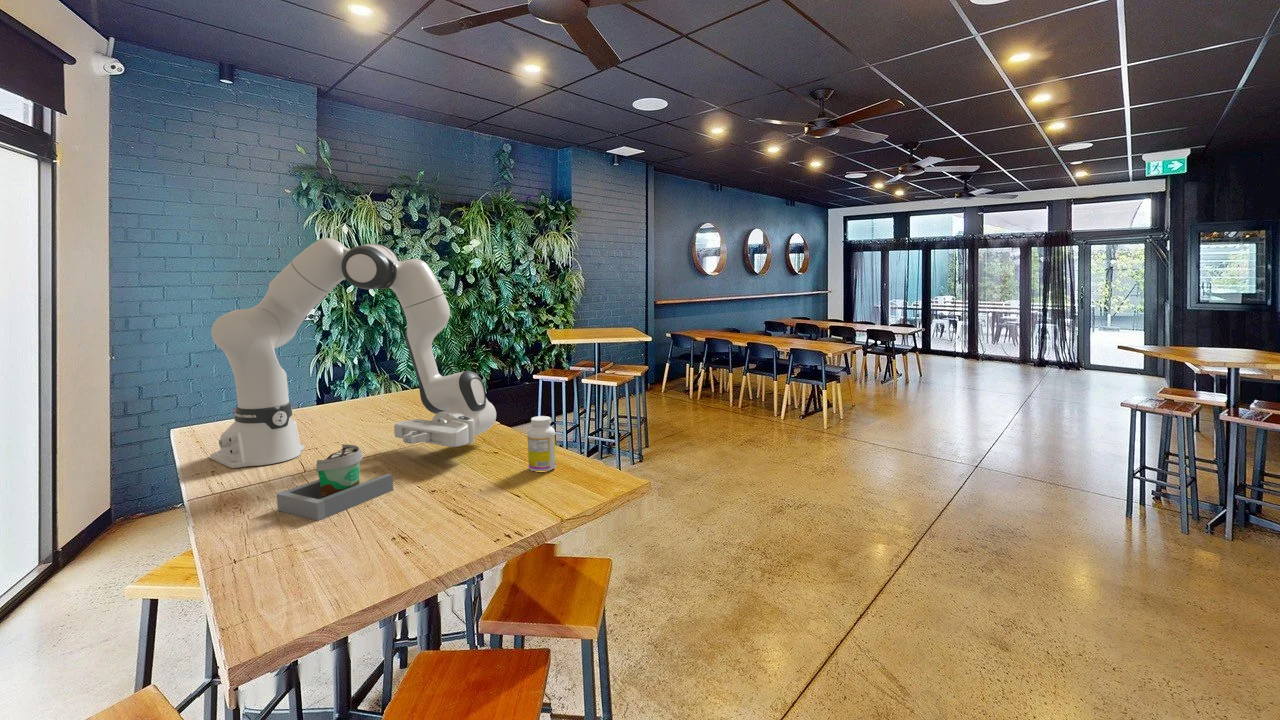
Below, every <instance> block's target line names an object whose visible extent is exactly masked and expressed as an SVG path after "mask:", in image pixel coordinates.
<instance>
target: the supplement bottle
mask: <svg viewBox="0 0 1280 720" xmlns="http://www.w3.org/2000/svg"><path fill="white" fill-rule="evenodd" d="M530 423H531V428H529V429H528V430H527V452H528V454H527V456H528V458H527V459H528V470H531V471H530V472H532V471H548V470H552V469H554V468H555V467H556V468H557V459H556V458H557V455H556V454H557V451H556V450H557V449H556V447H557V446H556V430H555V428H553V427H552V426H551V423H552V420H551V417H550V416H546V415H537V416H533V417H531V418H530ZM556 468H555V469H556ZM555 469H554V470H555ZM552 471H553V470H552Z"/></svg>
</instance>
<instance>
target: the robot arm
mask: <svg viewBox="0 0 1280 720" xmlns="http://www.w3.org/2000/svg"><path fill="white" fill-rule="evenodd" d="M344 280H346V281H347V282H348V283H349V284H350V285H352V286H354V287H355V288H359V289H363V290H383V289H391V291H392V292H394V294H395V295H396V297H397V299H398V301H399V303H400V306H401V308H402V310H403V313H404V316H405V319H406V331H405V341H406V345H407V349H408V352H409V355H410V359H411V362H412V366H413V369H414V372H415V375H416V379H417V383H418V388H419V395H420V401H421V403H422V405H423V406H424V407H425V409H426V410H427V411H428V412H430V413H431V414H435V415H434V416H433V418H432V419H431V420H428V419H421V418H416V419H415V418H414V419H408V420H407V419H406V420H404V421H399V422H396V423H394V425H393V427H394V428H393V431H394V437H395V438H399V439H402V443H406V444H411V445H414V444H419V443H427V444H432V445H438V446H445V447H449V448H457V447H462V446H465V445H472V444H474V443H475V436H478V435H481V434H483V433H485V432H487V431H488V430H489V429H491V427H493V426H494V424H495V422H496V419H497V411H496V408H495V406H494V405H493V403H492V402H490V401H489V400H488V398H487V391H486V388H485V385H484V382H483V380H482V378H481V377H480V376H479V375H478V374H477V373H475V372H473V371H471V370H465V371H461V372H455V373H452V374H448V375H444V376H443V375H441V374H440V372H439V370H438V365H437V362H436V359H435V356H434V352H433V348H432V346H433V342H434V339H435V338H436V337H437V335H438V334H440V332H441V331H443V330H444V329H445V327H446V326H447V324H448V322H449V320H450V317H451V310H450V305H449V302H448V300H447V297H446V295H445V293H444V291H443V289H442V286H441V285H440V283H439V281H438V279H437V277H436V276H435V274H434V272H433V271H432V269H431V267H430V266H429V264H428V263H426V262H425V261H424V260H422V259H418V258H409V259H406V260H400V258H399V256H398V254H397V253H396V252H395V251H394V249H391V248H390V247H389V246H386V245H383V244H381V243H380V244H377V243H366V244H363V245H357V246H354V247H352V248H348V247H346V245H344V244H343V243H341V242H340V241H338V240H336V239H333V238H330V237H323V238H320V239H318V240H317V241H315V242H313V243H312V244H310V245H309V246H308V247H306V248H305V249H303V251H302V252H300V253H299V254H297V256H295V257H294V258H293V259H292V260H291V261H289V263H288V264H287V265H286V266H285V267H284V268H283V269H282V270H281V271H280V272H278V274H277V275H276V276H275V277H274V278H273V279H272V280H271V281H270V282H269V284H268V290H267V292H266V294H265V295H264V296H263V298H262V299H261V301H260V302H259V303H258V304H256V305H255V306H253V307H250V308H240V309H234V310H231V311H229V312H226V313H224V314H223V315H220V316H219V317H218V318H217V319H216V320H214V322H213V325H212V326H211V329H210V330H211V337H212V338H211V339H212V340H213V342H214V344H215V345H216V347H217V348H219V349H220V350H221V351H222V352H223V353H224V355H225V356H226V358H227V361H228V364H229V365H230V368H231V370H232V373H233V377H234V381H235V382H234V383H235V388H236V389H235V390H236V399H237V407H234V408H232V410H234V411H233V414H234V418H233V419H234V422H233V423H232V424H231V425H230V426H229V427H228V428H227V429H226V430H225V431H224V432H222V433H221V434H220V438H219V439H218V445H219V448H220V450H218V451H215V452H213V453H211V454H209V459H211V460H213V461H215V462H217V463H218V464H221V465H223V466H226V467H228V468H229V469H237V468H245V467H255V466H267V465H272V464H277V463H281V462H286V461H289V460H292V459H295V458H297V457H299V456H301V454H302V451H303V450H304V449H305V445H304V444H301V442H300V435H299V431H298V426H297V421H296V420H295V419H294V418H292V416H293V406H292V402H291V401H290V398H289V386H288V385H289V384H288V374H287V372H286V370H284V368H283V367H282V366H281V365H280V362H279V360H278V358H277V355H276V351H275V349H277V348H281V347H282V346H284V345H286V344H288V343H289V342H290V341H291V340H292V339H293V338H294V337H295V335H296V334H297V331H298V329H299V328H300V326H301V325H302V323H303V322H304V320H306V317H307V316H308V315H309V314H310V313H311V311H312V310H313V309H314V308H315V307H317V305H319V303H320V302H321V301H322V300H323V299H325V298H326V296H328V294H330V293H331V292H332V291H333V290H334V288H335V287H337V285H338V284H339V283H341V282H343V281H344Z"/></svg>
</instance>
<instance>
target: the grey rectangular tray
mask: <svg viewBox="0 0 1280 720" xmlns="http://www.w3.org/2000/svg"><path fill="white" fill-rule="evenodd" d="M393 481H394V479H393V474H391V473H385V474H383V475H381V476H378V477H375V478H372V479H369V480H366V481H365V482H362V483H361V482H360V481H359V485H356V486H353V487H351V488H348V489H345V490H343V491H340V492H337V493H335V494H332V495H329V496H327V497H324V498H322V495H321V488H320V481H319V479H315V480H313V481H310V482H307V483H304V484H301V485H298V486H296V487H293V488H290V489H286V490H283V491H281V492H278V493H276V501H277V503H276V505H277V511H279V512H283V513H287V514H291V515H294V516H298V517H303V518H306V519H310V520H313V521H314V520H315V521H317V522H319V521H322V520H323V519H327V518H328V517H331V516H333V515H336V514H338V513H341V512H342V511H343V512H344V511H345V510H348V509H350V508H353V507H355V506H357V505H360V504H362V503H366V502H367V501H369V500H372V499H375V498H377V497H379V496H382V495H385V494H387V493H389V492H392V491H394V482H393Z"/></svg>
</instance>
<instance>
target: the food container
mask: <svg viewBox="0 0 1280 720" xmlns="http://www.w3.org/2000/svg"><path fill="white" fill-rule="evenodd" d="M341 447H342V448H341V449H340V450H338V451H336V452H334V453H331V454H329V456H328V457H326V458H325V459H316V465H315V466H316V467H315V469H316V472H317V471H318V480H319V481H320V488H321V495H322V497H321V498H324V497H327V496H329V495H332V494H335V493H337V492H340V491H343V490H345V489H348V488H351V487H353V486H356V485H359V484H360V483H359V482H360V468H361V467H360V463H361V461H362V460H363V458H364V456H363V453H362V450H361V449H360V447H359V446H357V445H355V444H347V443H346V444H345V443H344V444H341Z"/></svg>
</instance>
